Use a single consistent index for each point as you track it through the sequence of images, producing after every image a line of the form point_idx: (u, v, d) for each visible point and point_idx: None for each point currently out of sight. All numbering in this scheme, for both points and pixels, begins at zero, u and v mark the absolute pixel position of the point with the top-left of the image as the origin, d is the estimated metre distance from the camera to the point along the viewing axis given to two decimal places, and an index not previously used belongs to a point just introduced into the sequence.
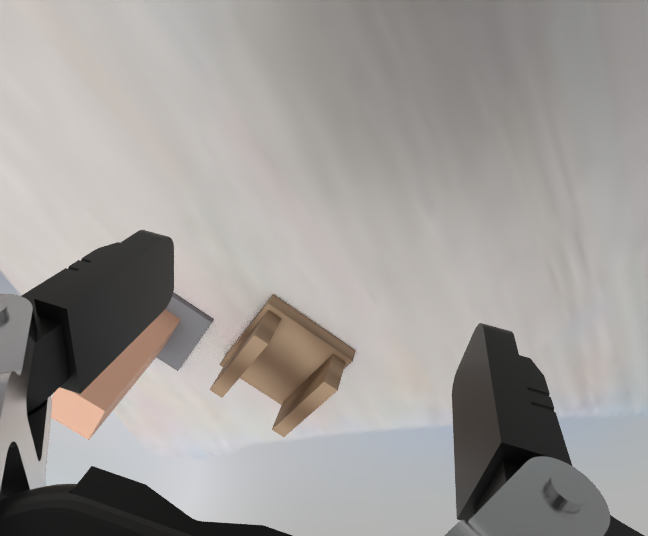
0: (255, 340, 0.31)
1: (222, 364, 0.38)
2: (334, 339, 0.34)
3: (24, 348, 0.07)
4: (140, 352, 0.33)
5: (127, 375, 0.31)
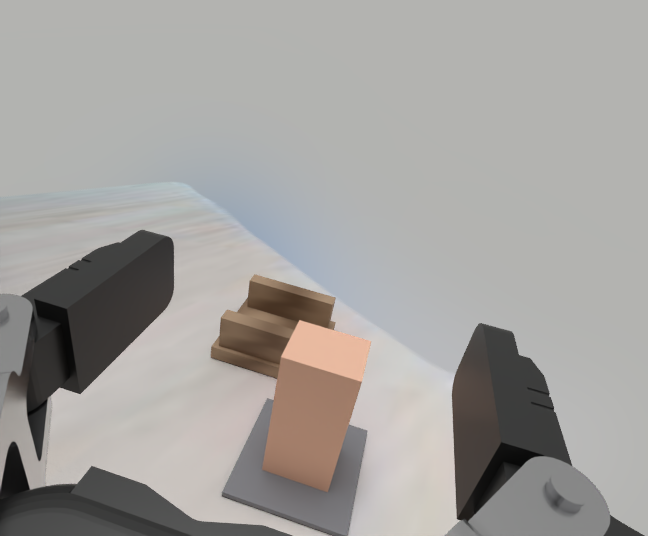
0: (226, 316, 0.35)
1: None
2: None
3: (24, 348, 0.07)
4: None
5: None
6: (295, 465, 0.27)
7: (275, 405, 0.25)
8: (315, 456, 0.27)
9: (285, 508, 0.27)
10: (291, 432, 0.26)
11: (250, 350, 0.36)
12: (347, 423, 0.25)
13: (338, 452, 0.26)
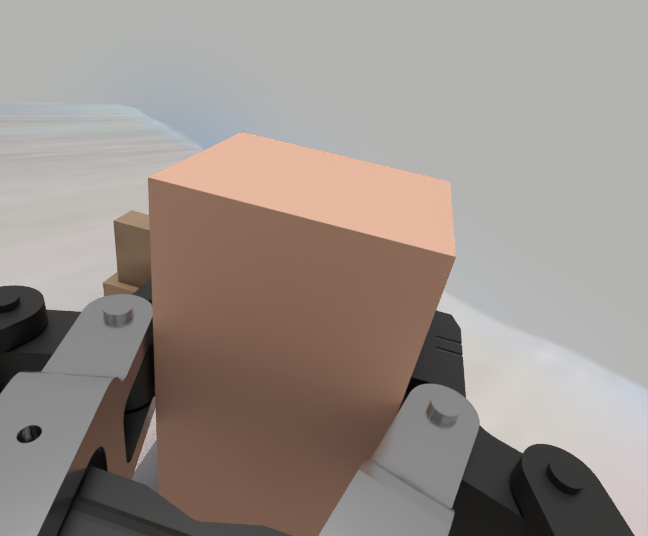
0: (126, 220, 0.18)
1: None
2: None
3: (135, 353, 0.07)
4: None
5: None
6: None
7: (163, 371, 0.08)
8: (292, 519, 0.09)
9: None
10: (219, 452, 0.09)
11: None
12: (388, 423, 0.07)
13: None
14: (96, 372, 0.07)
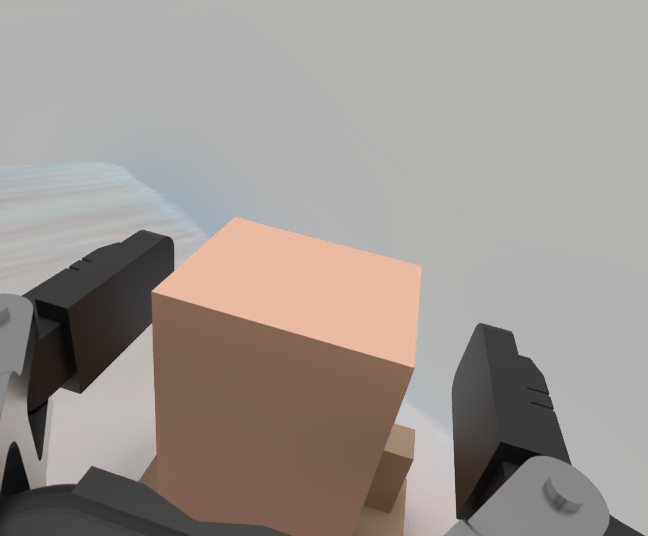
0: None
1: None
2: None
3: (25, 348, 0.07)
4: None
5: None
6: None
7: (164, 441, 0.09)
8: None
9: None
10: (214, 508, 0.10)
11: None
12: (363, 493, 0.08)
13: None
14: None
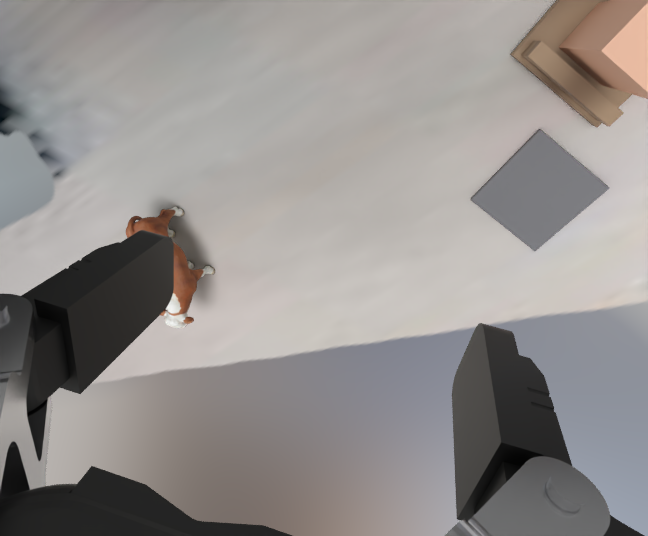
0: (535, 55, 0.31)
1: (596, 123, 0.35)
2: None
3: (24, 348, 0.07)
4: (612, 9, 0.27)
5: (630, 1, 0.25)
6: (584, 65, 0.32)
7: (583, 51, 0.28)
8: (601, 77, 0.31)
9: (506, 223, 0.41)
10: (589, 62, 0.29)
11: (549, 78, 0.33)
12: (634, 94, 0.28)
13: (619, 89, 0.30)
14: None
